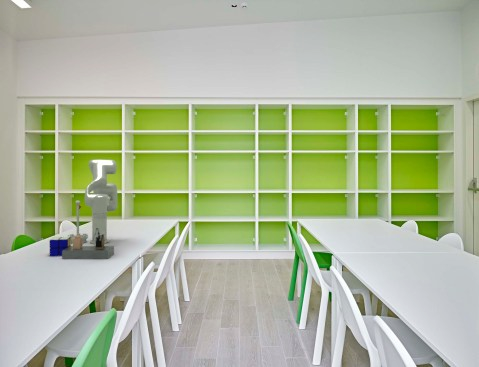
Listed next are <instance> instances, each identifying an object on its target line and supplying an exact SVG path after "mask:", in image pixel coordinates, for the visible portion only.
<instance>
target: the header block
mask: <svg viewBox="0 0 479 367" xmlns="http://www.w3.org/2000/svg"><path fill="white" fill-rule="evenodd" d="M114 255H115V245H105V248H104V249H96V245H82V248H81V249H73V245H71V246H70V247H68V248H66V249H64V250H62V256H61V259H62V260H109V259H110V258H111V257H112V256H114Z"/></svg>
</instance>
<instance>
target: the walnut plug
mask: <svg viewBox="0 0 479 367" xmlns="http://www.w3.org/2000/svg"><path fill="white" fill-rule="evenodd" d="M98 237H99V238H100V236H98ZM101 240H102V247H96V249H104V248H105V246H106V245H105V244H106V243H105V237H103V236H101Z"/></svg>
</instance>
